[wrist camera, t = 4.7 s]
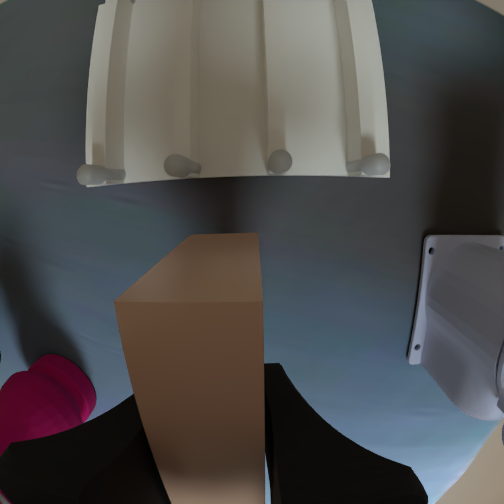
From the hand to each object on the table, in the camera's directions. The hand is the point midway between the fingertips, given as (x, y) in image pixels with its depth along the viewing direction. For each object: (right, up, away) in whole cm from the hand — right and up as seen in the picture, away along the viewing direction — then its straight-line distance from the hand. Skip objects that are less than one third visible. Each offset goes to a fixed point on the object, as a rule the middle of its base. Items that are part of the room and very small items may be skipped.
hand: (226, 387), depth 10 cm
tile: (0, 0, +3) cm, 3 cm away
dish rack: (0, +15, +6) cm, 17 cm away
